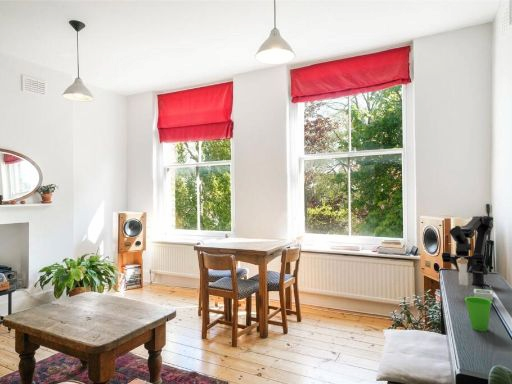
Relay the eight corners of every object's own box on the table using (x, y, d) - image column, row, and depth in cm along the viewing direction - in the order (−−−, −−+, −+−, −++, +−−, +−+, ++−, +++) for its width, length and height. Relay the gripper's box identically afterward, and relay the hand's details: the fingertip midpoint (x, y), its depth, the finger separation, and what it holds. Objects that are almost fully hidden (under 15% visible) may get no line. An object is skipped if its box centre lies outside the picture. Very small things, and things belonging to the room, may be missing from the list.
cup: (498, 333, 123) (497, 304, 124) (471, 332, 125) (470, 303, 126) (487, 324, 132) (485, 296, 133) (462, 323, 134) (460, 296, 134)
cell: (459, 282, 172) (457, 256, 172) (468, 283, 169) (466, 256, 170) (458, 284, 168) (457, 257, 169) (468, 285, 166) (466, 258, 166)
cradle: (474, 294, 170) (473, 288, 171) (492, 296, 166) (492, 290, 166) (474, 298, 164) (473, 292, 164) (492, 300, 160) (492, 294, 160)
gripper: (441, 237, 178) (440, 261, 169) (482, 238, 167) (484, 264, 158) (443, 249, 184) (442, 273, 175) (483, 251, 174) (485, 277, 164)
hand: (462, 271), depth 168 cm, fingers closed on cell, 4 cm apart
